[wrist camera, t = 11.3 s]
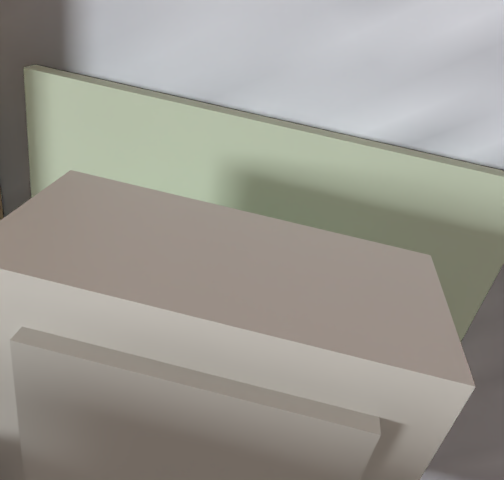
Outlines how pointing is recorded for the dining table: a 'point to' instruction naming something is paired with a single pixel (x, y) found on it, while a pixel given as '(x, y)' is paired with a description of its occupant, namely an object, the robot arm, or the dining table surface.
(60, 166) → the mat
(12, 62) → the dining table surface
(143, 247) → the cover
